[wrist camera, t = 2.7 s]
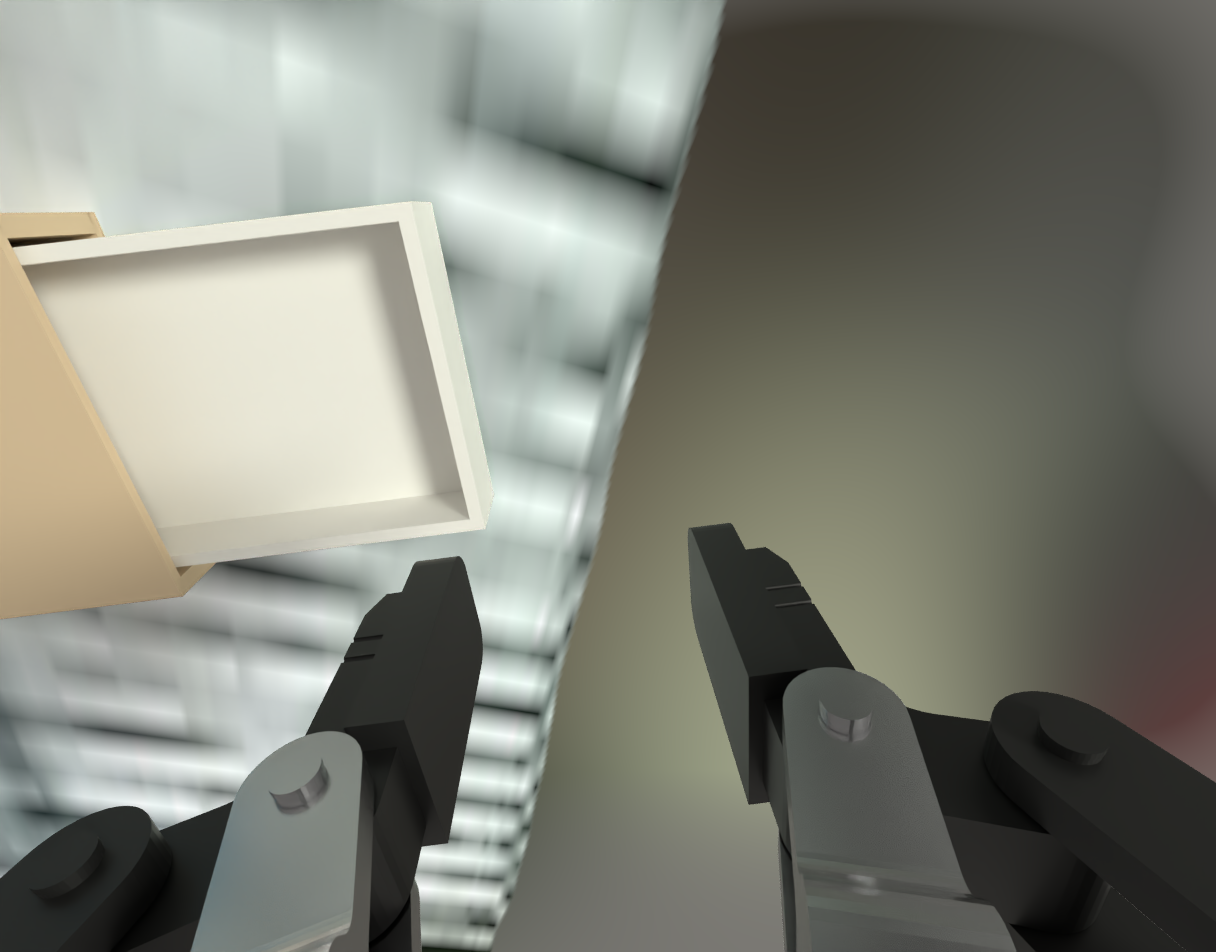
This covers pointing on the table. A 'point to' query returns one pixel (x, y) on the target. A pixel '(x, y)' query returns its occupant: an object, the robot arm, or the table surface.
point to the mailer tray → (276, 378)
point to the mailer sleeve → (63, 462)
